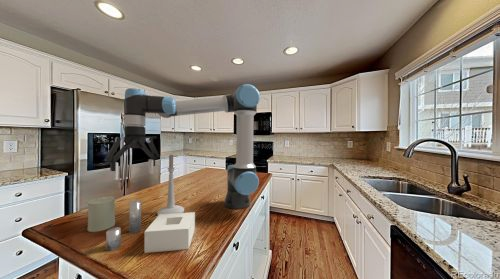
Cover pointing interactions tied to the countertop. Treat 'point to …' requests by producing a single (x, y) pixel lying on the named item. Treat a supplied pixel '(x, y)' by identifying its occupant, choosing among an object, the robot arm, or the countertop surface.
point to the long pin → (135, 216)
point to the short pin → (113, 238)
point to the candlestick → (171, 194)
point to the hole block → (170, 232)
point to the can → (101, 214)
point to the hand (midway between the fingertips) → (134, 176)
